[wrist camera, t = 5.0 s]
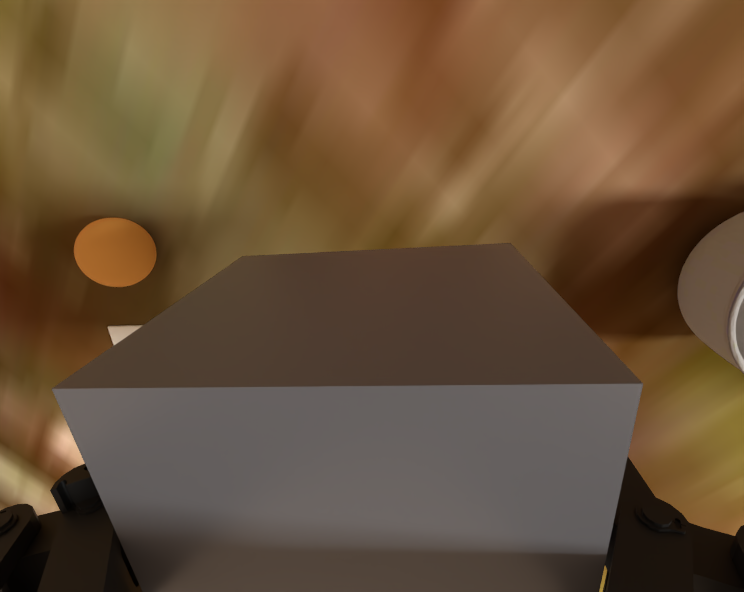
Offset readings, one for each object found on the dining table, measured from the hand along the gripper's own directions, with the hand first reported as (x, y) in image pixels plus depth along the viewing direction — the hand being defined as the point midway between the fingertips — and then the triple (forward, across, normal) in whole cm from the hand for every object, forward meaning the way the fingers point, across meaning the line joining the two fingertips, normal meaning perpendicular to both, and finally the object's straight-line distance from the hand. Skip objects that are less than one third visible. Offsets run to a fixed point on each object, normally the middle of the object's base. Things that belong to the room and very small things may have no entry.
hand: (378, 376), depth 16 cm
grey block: (+1, 0, 0) cm, 1 cm away
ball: (+12, -20, +3) cm, 23 cm away
